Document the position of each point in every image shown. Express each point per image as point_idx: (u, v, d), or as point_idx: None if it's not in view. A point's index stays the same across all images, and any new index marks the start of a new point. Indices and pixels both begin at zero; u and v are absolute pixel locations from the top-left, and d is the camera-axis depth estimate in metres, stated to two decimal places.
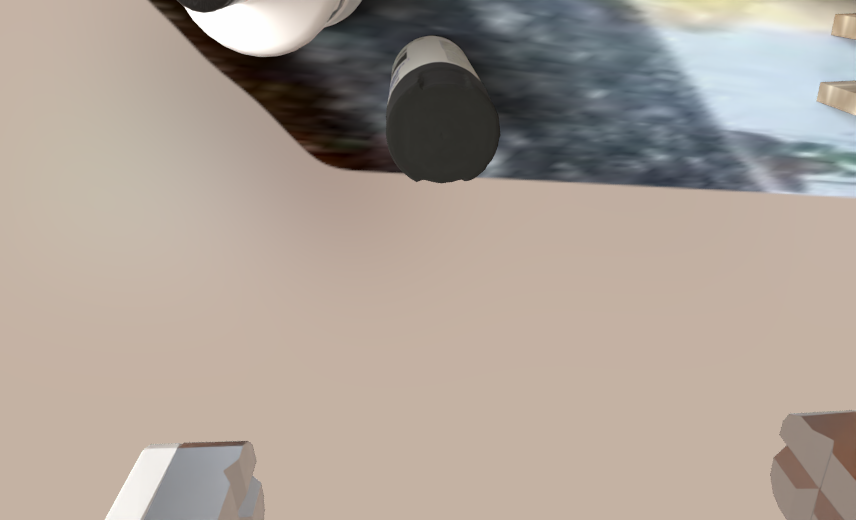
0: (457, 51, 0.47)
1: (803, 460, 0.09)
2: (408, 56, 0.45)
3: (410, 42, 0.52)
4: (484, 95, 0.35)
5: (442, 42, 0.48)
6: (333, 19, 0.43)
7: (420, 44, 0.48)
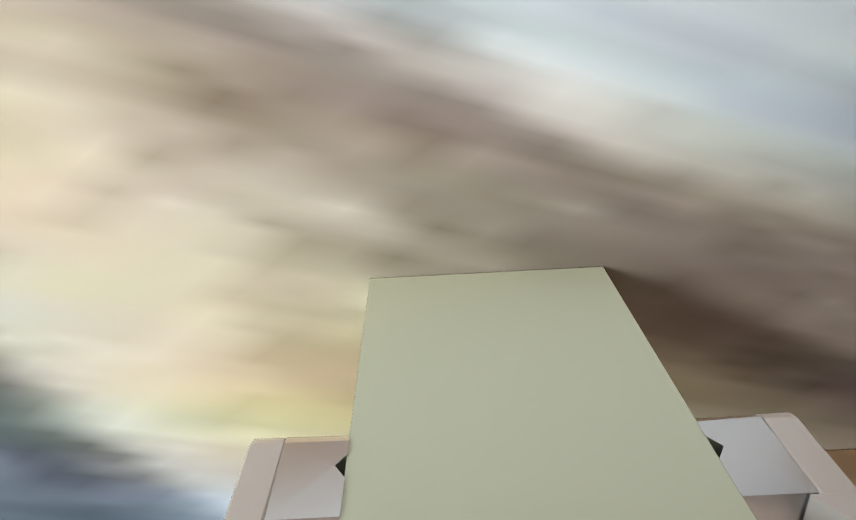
0: None
1: None
2: None
3: None
4: None
5: None
6: None
7: None
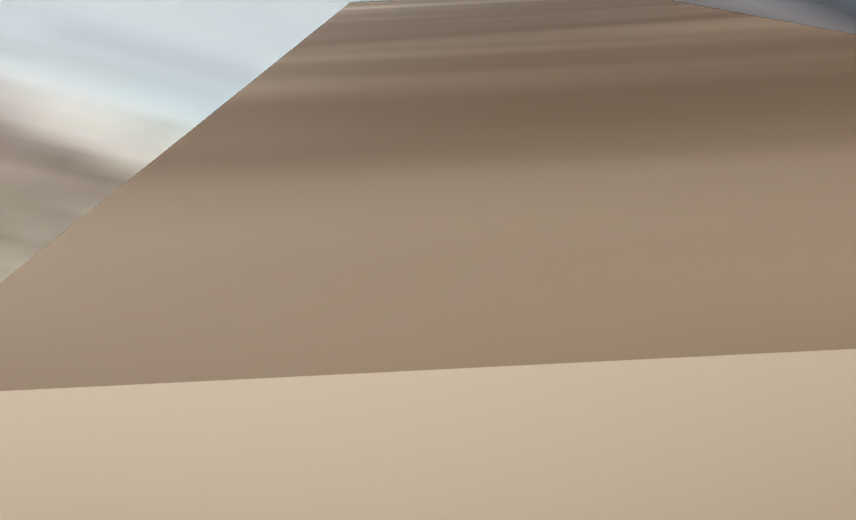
0: None
1: None
2: None
3: None
4: None
5: None
6: None
7: None
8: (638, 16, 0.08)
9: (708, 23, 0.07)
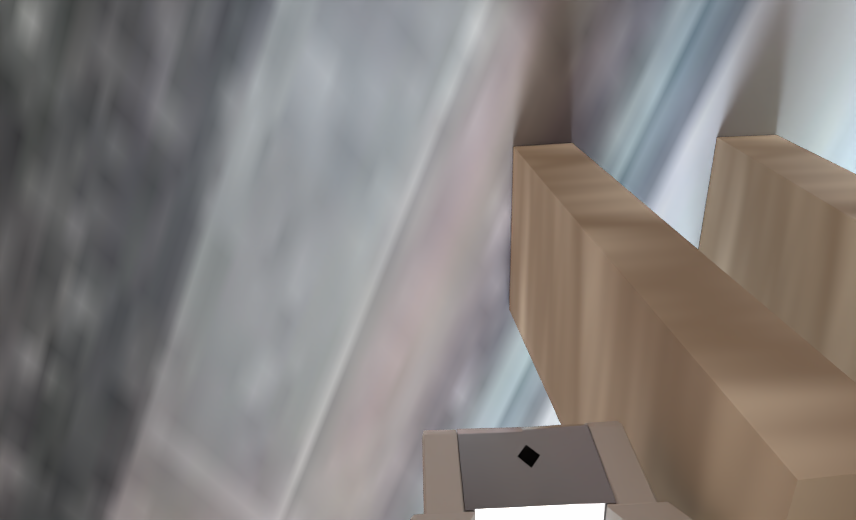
0: None
1: None
2: None
3: None
4: None
5: None
6: None
7: None
8: (815, 255, 0.13)
9: (851, 257, 0.12)
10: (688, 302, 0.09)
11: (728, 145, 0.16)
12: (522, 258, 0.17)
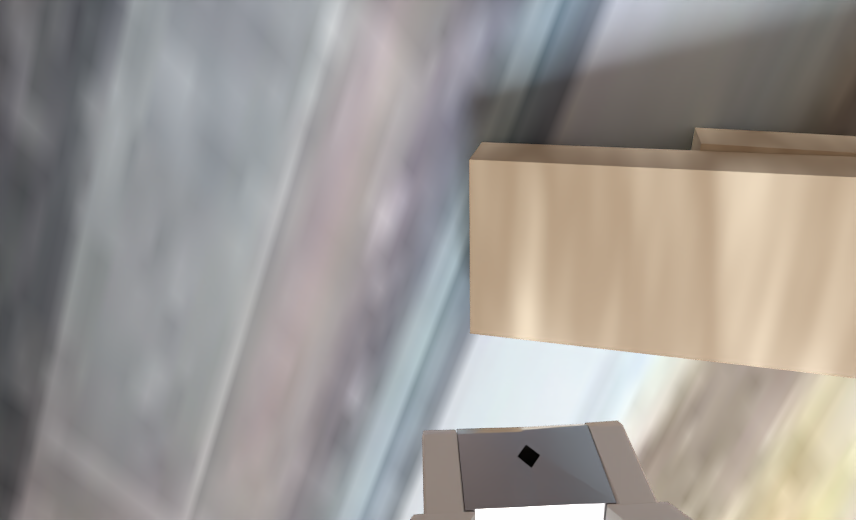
0: None
1: None
2: None
3: None
4: None
5: None
6: None
7: None
8: None
9: None
10: None
11: (732, 146, 0.15)
12: (520, 262, 0.16)
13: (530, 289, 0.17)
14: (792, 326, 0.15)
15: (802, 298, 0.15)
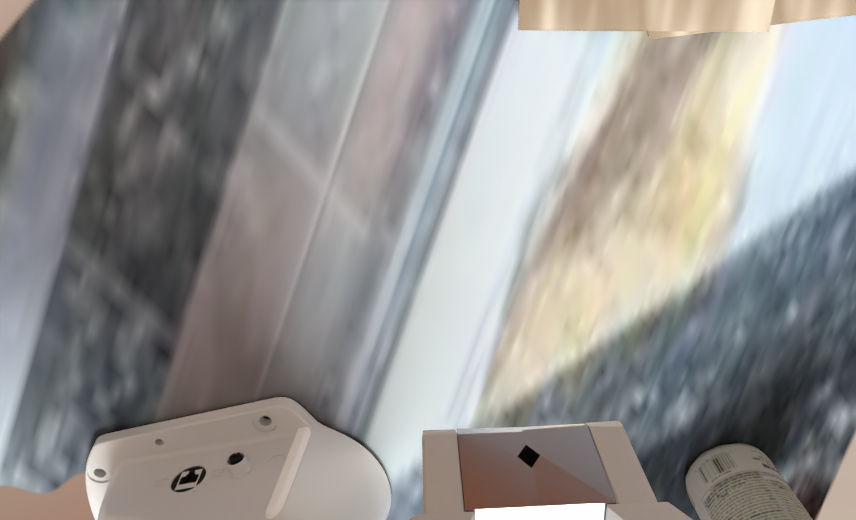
0: None
1: None
2: None
3: None
4: None
5: (711, 515, 0.45)
6: None
7: None
8: None
9: None
10: None
11: None
12: None
13: None
14: (681, 3, 0.31)
15: None
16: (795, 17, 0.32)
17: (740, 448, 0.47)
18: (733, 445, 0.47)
